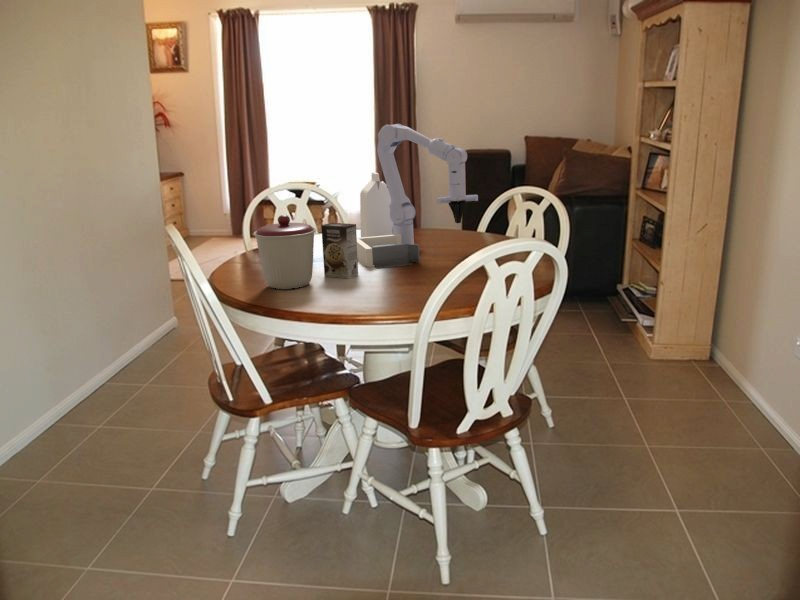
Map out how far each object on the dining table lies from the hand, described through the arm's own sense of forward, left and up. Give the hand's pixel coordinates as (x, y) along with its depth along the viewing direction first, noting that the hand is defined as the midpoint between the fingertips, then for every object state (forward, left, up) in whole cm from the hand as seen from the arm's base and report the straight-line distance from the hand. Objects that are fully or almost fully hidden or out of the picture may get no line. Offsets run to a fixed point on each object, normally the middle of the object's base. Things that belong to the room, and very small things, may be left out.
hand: (457, 222), depth 249 cm
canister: (+26, -63, -10) cm, 69 cm away
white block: (+1, -26, -10) cm, 28 cm away
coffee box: (+20, -46, -10) cm, 51 cm away
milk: (-33, -21, -10) cm, 40 cm away
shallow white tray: (+1, -28, -10) cm, 30 cm away
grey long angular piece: (+12, -26, -10) cm, 31 cm away
